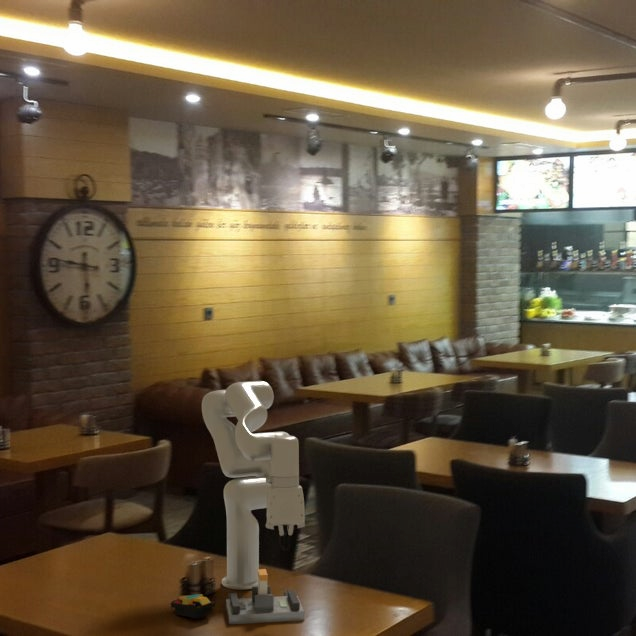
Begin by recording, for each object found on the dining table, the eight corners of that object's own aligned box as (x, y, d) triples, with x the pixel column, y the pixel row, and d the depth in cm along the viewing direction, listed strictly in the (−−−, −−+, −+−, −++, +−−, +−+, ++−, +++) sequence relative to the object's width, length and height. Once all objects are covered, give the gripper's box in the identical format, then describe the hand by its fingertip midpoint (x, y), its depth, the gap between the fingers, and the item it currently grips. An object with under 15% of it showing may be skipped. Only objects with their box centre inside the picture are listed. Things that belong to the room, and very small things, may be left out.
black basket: (185, 611, 265) (183, 591, 265) (217, 615, 256) (215, 594, 257) (167, 617, 260) (165, 597, 261) (199, 621, 252) (197, 600, 252)
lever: (257, 600, 263) (257, 568, 262) (265, 600, 263) (265, 568, 263) (259, 608, 257) (259, 575, 256) (267, 607, 257) (267, 575, 257)
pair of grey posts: (228, 599, 272) (228, 585, 271) (290, 596, 275) (290, 581, 274) (233, 622, 254) (233, 606, 254) (299, 618, 257) (299, 602, 256)
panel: (225, 607, 265) (225, 584, 265) (297, 604, 268) (297, 581, 268) (229, 624, 252) (229, 600, 252) (304, 620, 255) (304, 596, 255)
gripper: (259, 485, 255) (259, 554, 255) (314, 483, 257) (314, 551, 257) (256, 480, 262) (256, 547, 262) (310, 478, 264) (310, 544, 265)
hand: (285, 548), depth 260 cm, fingers closed
